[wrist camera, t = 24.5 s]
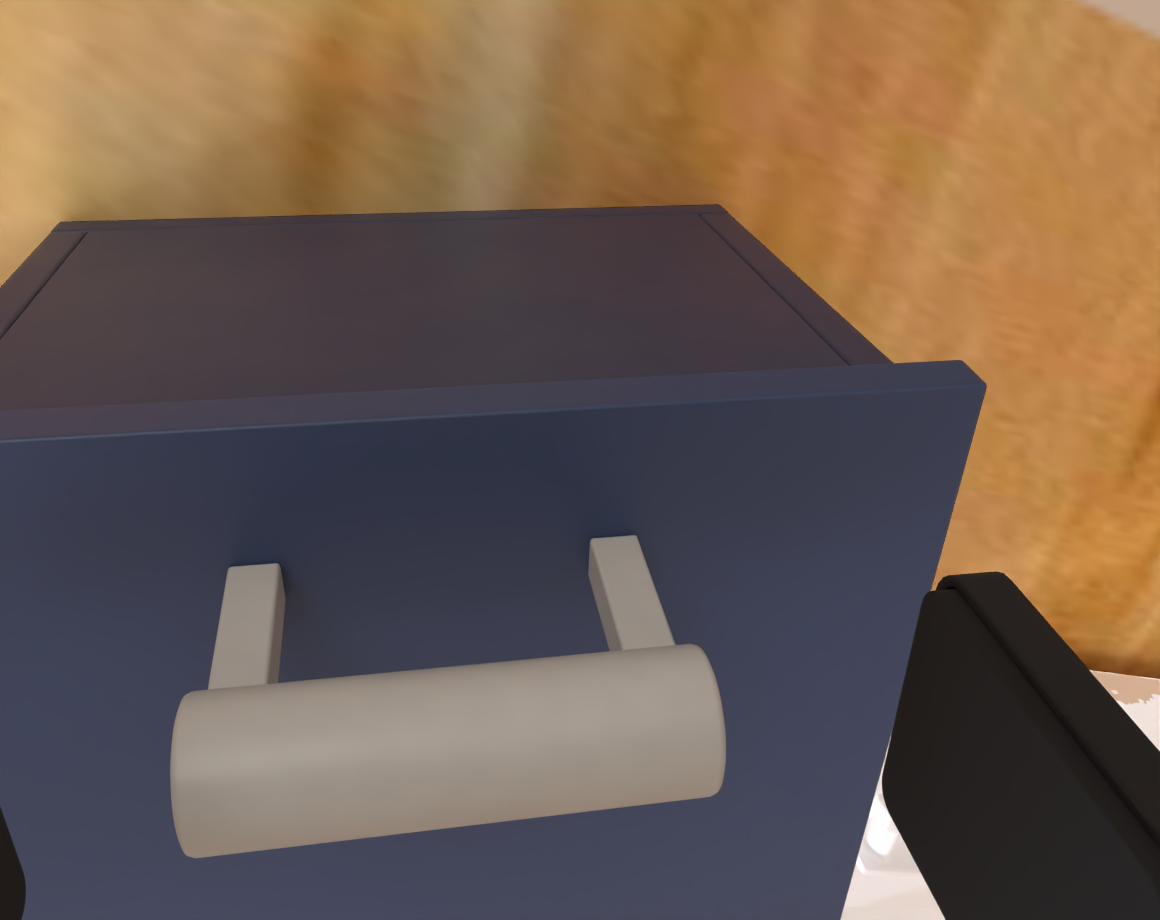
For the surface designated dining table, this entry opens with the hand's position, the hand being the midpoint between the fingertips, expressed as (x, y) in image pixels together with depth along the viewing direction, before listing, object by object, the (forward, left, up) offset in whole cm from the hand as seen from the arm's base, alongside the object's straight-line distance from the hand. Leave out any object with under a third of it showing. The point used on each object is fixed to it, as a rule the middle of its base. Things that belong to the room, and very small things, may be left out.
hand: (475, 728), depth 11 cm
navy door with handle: (+7, 0, -6) cm, 9 cm away
